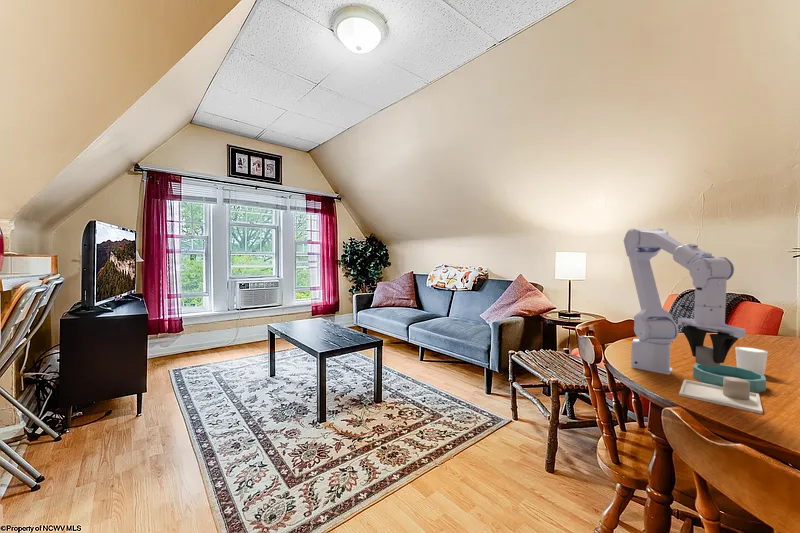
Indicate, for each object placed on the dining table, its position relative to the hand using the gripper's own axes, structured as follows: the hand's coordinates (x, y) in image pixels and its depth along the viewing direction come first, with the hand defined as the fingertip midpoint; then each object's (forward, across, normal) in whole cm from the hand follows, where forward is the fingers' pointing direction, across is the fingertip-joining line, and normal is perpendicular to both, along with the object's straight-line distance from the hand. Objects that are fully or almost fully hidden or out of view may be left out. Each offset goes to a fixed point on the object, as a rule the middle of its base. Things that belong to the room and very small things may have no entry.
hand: (707, 359), depth 85 cm
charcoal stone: (+1, 0, 0) cm, 1 cm away
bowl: (+9, -5, +13) cm, 16 cm away
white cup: (+9, -12, +30) cm, 34 cm away
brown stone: (+8, +4, +4) cm, 10 cm away
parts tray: (+9, +3, 0) cm, 9 cm away
